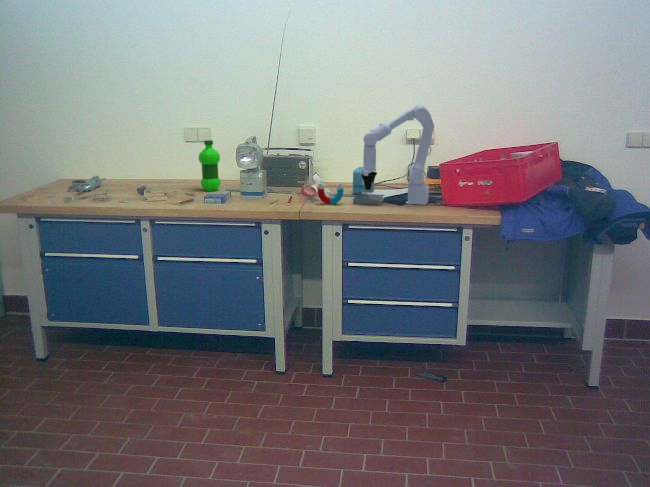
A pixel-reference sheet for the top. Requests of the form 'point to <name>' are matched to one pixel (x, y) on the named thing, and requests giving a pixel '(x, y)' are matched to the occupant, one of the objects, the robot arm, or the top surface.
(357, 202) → the base block
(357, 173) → the data package
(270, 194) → the top surface
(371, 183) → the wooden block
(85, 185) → the grey irregular piece
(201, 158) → the plastic bottle
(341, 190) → the magnet
